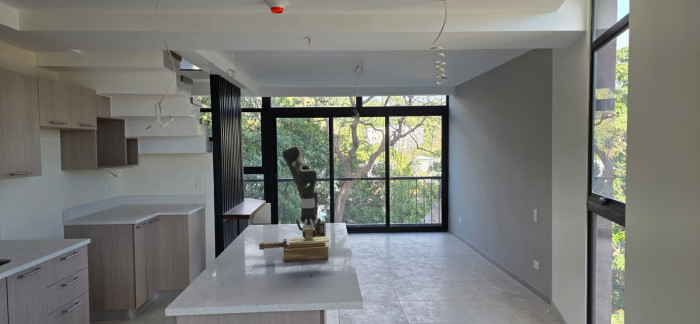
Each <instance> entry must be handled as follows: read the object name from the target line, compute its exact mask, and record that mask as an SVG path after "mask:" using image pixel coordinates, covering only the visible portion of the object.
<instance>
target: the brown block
mask: <svg viewBox="0 0 700 324" xmlns="http://www.w3.org/2000/svg"><path fill="white" fill-rule="evenodd" d="M258 245H259V246H258V250H261V251H262V250H265V249H277V248H283V241H279V242H278V241H277V242H266V243H265V242H259V244H258Z"/></svg>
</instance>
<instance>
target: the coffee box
mask: <svg viewBox="0 0 700 324" xmlns="http://www.w3.org/2000/svg"><path fill="white" fill-rule="evenodd" d="M316 224H317V222H314V223H313V225H314V227H316ZM326 227H327V223H326V221H320V224H319V228H318V229H317V230H315V236H314V237H326V236H327V228H326ZM310 228H312V226H311V225H310Z"/></svg>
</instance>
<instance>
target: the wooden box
mask: <svg viewBox="0 0 700 324" xmlns="http://www.w3.org/2000/svg"><path fill="white" fill-rule="evenodd" d="M287 241H288V240H287V238H284V239H283V241H282V242H283V247H282V248H283V263H291V262H292V263H293V262H294V261H296V262H304V261H307V262H308V261H309V262H310V261H318V260H319V261H320V259H322V260H329V246H328V244H327V242H324V243H309V244H294V245H290V243H288V242H287Z"/></svg>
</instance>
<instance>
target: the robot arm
mask: <svg viewBox="0 0 700 324" xmlns="http://www.w3.org/2000/svg"><path fill="white" fill-rule="evenodd" d="M282 156H283V160H284V161H285V163H286V165H287V167H288V169H289V172H290V174H291V176H292V180H293V182H294V184H295V186H296V188H297V191H298V195H299V197H300V213H301V214H300V218H298V219H296V220H295V222H296V225H297V227H298V230H299V231H301V232H302V238H305V228H310V225H311V226H312V229H313V238H314V236H315V230H317V229H318V228H319V224H320V222H322V221H321V220H322V219H321V218H320V217H318V206H319V205H318V204H319V203H318V201H319V200H318V199H319V196H318V193H317V191H315V187H316V183H317V179H318V173H317V172H316V170H315V169H311V168H310V167H309V165H308V164H307V163H306V162H307V161H306V160H305V157H304V155H303V153H302V150H301V149H300V147H299V146H297V145H293V146H291V147H288V148H286V149H284V150H283V151H282ZM301 222H302V223H303V225H302V226H301V224H300V223H301ZM314 222H317V224H316V227H314V225H313V223H314Z"/></svg>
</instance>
